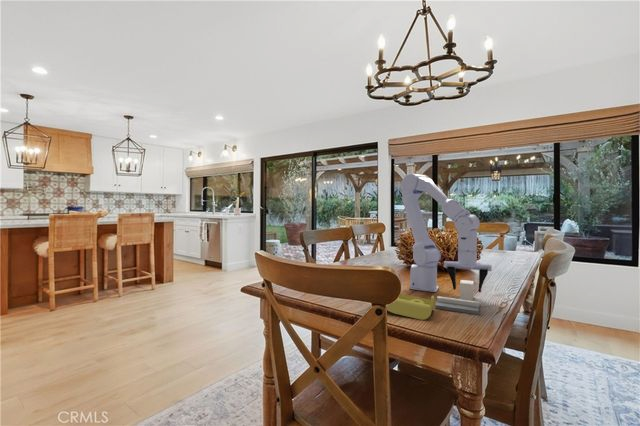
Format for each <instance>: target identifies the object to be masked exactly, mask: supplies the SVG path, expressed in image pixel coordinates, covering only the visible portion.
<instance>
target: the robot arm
mask: <svg viewBox="0 0 640 426" xmlns="http://www.w3.org/2000/svg"><path fill="white" fill-rule="evenodd" d="M400 184H401V187H402V196H401V197H402V198H401V199H402V203H403V206H404V210H405V213H406V216H407V219H408V222H409V223H408V224H409V226H410V229H411V233H412V235H413V240H414V244H413V246H412V251H413V254H412V257H413V261H414V263H415V264H414V263H413V264H411V266H410V272H409V275H410V276H409V289H410V290H415V291H423V292H432V293H437V291H438V290H439V288H440V286H439V285H438V282H437V281H438V279H437V277H438V275H437V274H438V262H439V261H440V260H441V257H442V254H441V251H440V249H439V248H438V247H437V246H436V242H434V241H433V239H431V238H430V236H429V233H428V229H427V226H426V223H425V220H424V217H423V214H422V211H421V207H420V204H419V201H418V200H419V199H420V197H421V196H422V195H423V193H427V194H428V195H429V196H430V197H431V198H433V199H434V201H436V202H437V203H438V204H439V205H441V212H443V213H444V214H445V215H446V216H447V217H448V218H449V220H451V221H452V222H453V223H454V227H455V228H456V231H457V238H458V239H457V242H458V243H457V246H458V247H457V261H448V260H445V261H443V268H445V269H446V268H447V269H446V272H447V273H448V276H449V277H450V280H451V284H452V289H453V290H454V291H455V290H456V289H457V281H456V280H457V279H456V278H457V277H456V275H457V273H456V271H457V269H464V270H475V271H476V270H477V271H478V274H479V275H478V289H477V290H478V292H477V293H482V292H481V291H482V287H483V284H484V283H485V279H486V278H487V276H488V273H489V272H492V267H493V266H492V264H489V263H488V264H487V263H478V262H477V257H478V256H477V250H478V249H477V248H478V244H477V243H478V230H479V228H480V226H481V220H480V219H479V217H478V216H477V215H475V214H471V211H470V210H467V209H466V208H464V207H463V206H462V205H461V201H459V200H458V199H454V198H452V199H451V198H449V197H448V196H447V195H446V194H445V193H444V192H443V191H442V190H441V189H440V188H439V187H438V186H437V184H435V182H434V181H433V179H432V178H430V177H429V176H428V175H426V174H416V173H411V172H409V173H407V174H405V175H404V177H403V178H402V181H401V183H400Z"/></svg>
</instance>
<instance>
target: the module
mask: <svg viewBox="0 0 640 426" xmlns="http://www.w3.org/2000/svg"><path fill="white" fill-rule="evenodd" d="M474 284H475V283H474V280H466V279H460V282H459V299H463V300H470V301H474Z"/></svg>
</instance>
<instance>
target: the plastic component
mask: <svg viewBox="0 0 640 426" xmlns="http://www.w3.org/2000/svg"><path fill="white" fill-rule="evenodd" d="M435 302H436V298H435V296H434V295H431V297H430V299H429V298H423V297H419V296H414V295H410V294H409V295H408V294H404V293H403V294H402V293H400V296H399V298H398V299H397V300H396V301H395V302H394V303H392V304H390V305H388V306H387V310H386V311H388V312H389V313H392V314H395V315H397V316H398V315H399V316H403V317H407V318H412V319H416V320H420V321H421V320H422V321H424V320H427V319H429V318H430V317H431V315H432V311H434V309H435V304H436V303H435Z"/></svg>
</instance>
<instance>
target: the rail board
mask: <svg viewBox="0 0 640 426" xmlns="http://www.w3.org/2000/svg"><path fill="white" fill-rule="evenodd" d="M435 302H436V303H435V305H434V309H439V310H444V311H452V312H458V313H464V314H471V315H478V316H479V315H480V301H479V300H478V301H476V300H473V301H470V300H463V299H460V298H454V297H453V298H452V297H447V296H440V295H438V296H436V301H435Z"/></svg>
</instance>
